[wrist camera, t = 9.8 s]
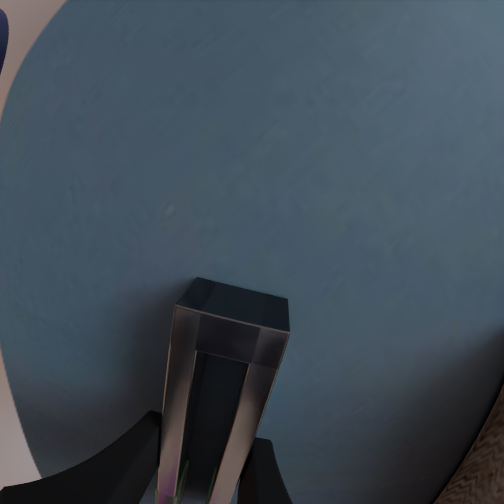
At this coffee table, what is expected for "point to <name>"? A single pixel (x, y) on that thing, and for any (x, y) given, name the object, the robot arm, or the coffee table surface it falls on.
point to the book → (481, 465)
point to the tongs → (191, 369)
